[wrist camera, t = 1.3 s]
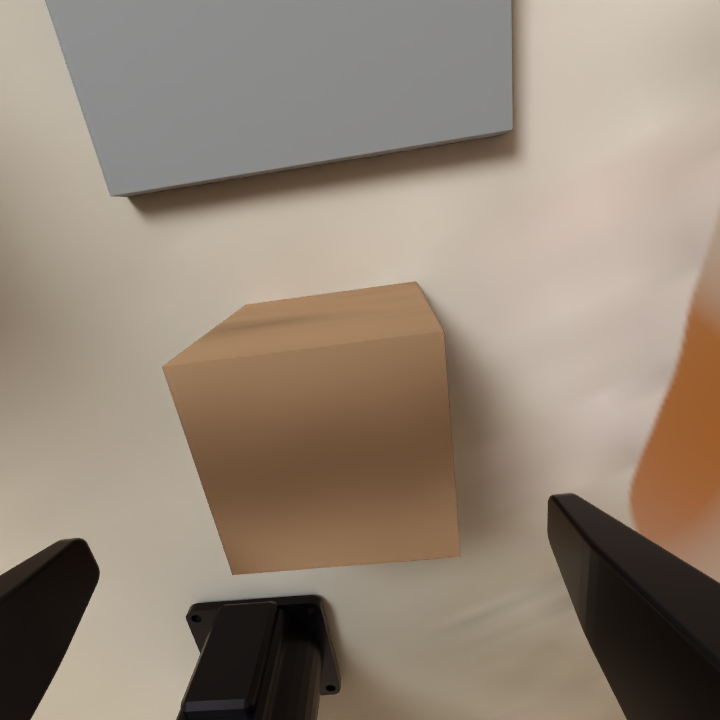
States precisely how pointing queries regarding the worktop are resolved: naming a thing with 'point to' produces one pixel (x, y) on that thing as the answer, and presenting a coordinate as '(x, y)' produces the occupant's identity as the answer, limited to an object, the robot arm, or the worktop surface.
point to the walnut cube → (323, 430)
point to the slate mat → (279, 82)
